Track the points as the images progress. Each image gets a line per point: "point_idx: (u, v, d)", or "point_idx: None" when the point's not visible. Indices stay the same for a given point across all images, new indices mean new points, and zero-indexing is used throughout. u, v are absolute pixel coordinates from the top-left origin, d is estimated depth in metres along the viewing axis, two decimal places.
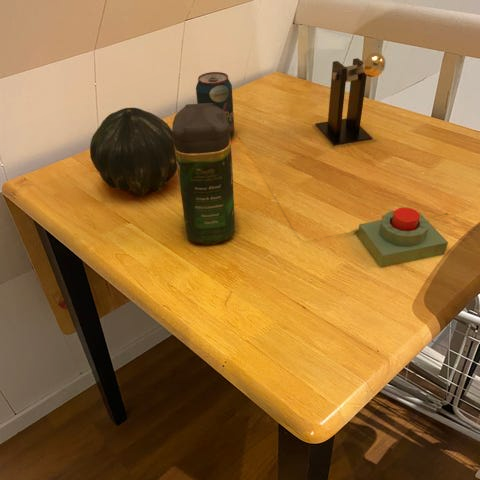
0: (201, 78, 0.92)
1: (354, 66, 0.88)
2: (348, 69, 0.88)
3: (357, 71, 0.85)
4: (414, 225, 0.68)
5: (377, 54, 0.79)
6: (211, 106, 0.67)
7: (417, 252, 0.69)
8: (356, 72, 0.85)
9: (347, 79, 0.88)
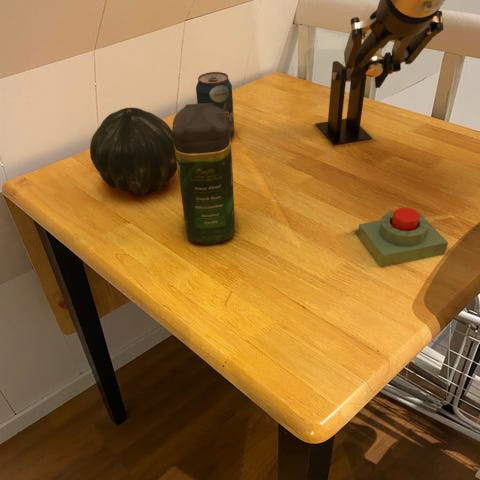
0: (201, 78, 0.92)
1: None
2: (348, 69, 0.88)
3: None
4: (414, 225, 0.68)
5: (377, 54, 0.79)
6: (211, 106, 0.67)
7: (417, 252, 0.69)
8: None
9: (347, 79, 0.88)
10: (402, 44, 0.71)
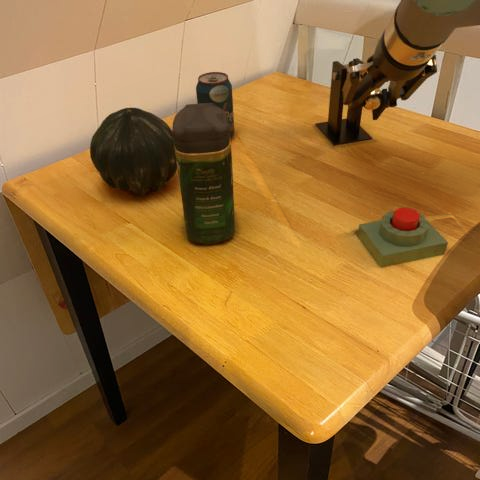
0: (201, 78, 0.92)
1: None
2: None
3: None
4: (414, 225, 0.68)
5: (376, 93, 0.81)
6: (211, 106, 0.67)
7: (417, 252, 0.69)
8: None
9: None
10: (398, 84, 0.75)
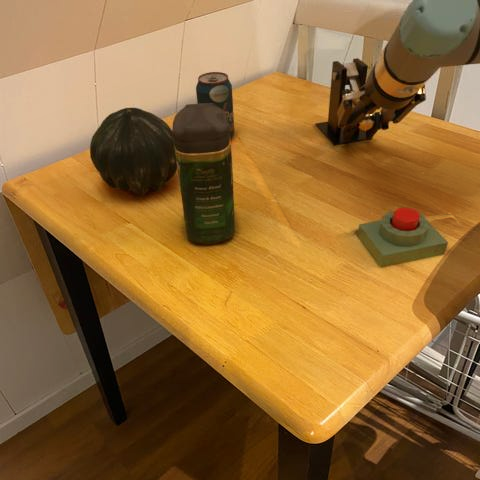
0: (201, 78, 0.92)
1: (355, 75, 0.88)
2: (348, 78, 0.88)
3: None
4: (414, 225, 0.68)
5: (370, 119, 0.85)
6: (211, 106, 0.67)
7: (417, 252, 0.69)
8: None
9: None
10: (389, 111, 0.79)
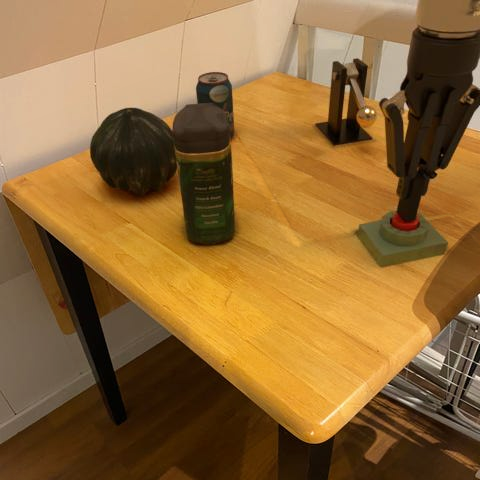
0: (201, 78, 0.92)
1: (355, 75, 0.88)
2: (348, 77, 0.88)
3: (354, 95, 0.88)
4: (414, 228, 0.68)
5: (371, 116, 0.85)
6: (211, 106, 0.67)
7: (417, 252, 0.69)
8: (353, 93, 0.88)
9: None
10: (444, 118, 0.57)
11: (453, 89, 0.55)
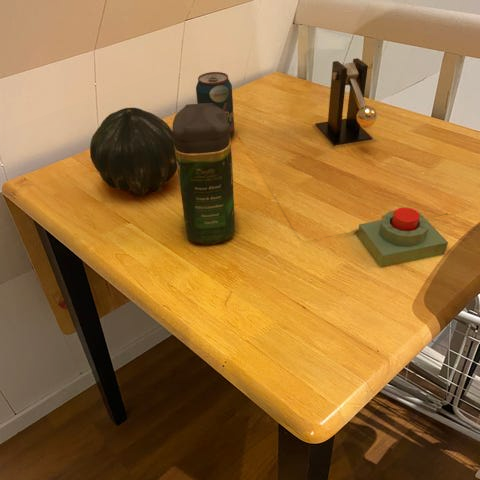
0: (201, 78, 0.92)
1: (355, 75, 0.88)
2: (348, 77, 0.88)
3: (354, 95, 0.88)
4: (414, 225, 0.68)
5: (371, 116, 0.85)
6: (211, 106, 0.67)
7: (417, 252, 0.69)
8: (353, 93, 0.88)
9: None
10: None
11: None
